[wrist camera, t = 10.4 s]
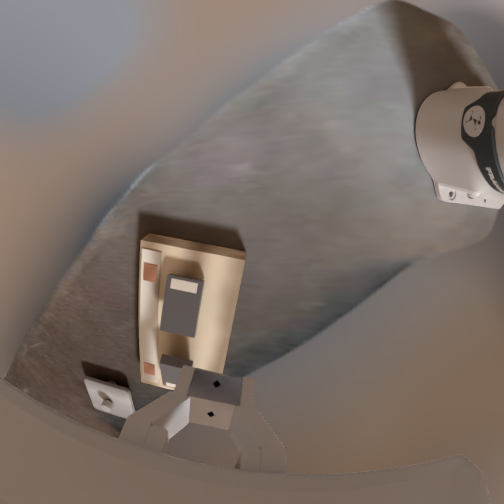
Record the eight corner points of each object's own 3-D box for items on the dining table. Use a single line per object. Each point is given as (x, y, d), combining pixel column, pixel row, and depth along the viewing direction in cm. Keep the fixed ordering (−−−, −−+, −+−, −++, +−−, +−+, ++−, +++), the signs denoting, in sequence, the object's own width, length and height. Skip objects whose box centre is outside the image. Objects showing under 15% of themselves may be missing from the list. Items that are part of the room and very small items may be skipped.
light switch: (98, 400, 49) (90, 416, 44) (88, 368, 46) (77, 385, 41) (139, 411, 49) (133, 429, 44) (132, 381, 46) (124, 399, 41)
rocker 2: (193, 360, 36) (191, 370, 35) (192, 382, 41) (190, 391, 39) (162, 353, 36) (159, 363, 35) (165, 376, 40) (162, 385, 39)
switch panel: (246, 251, 37) (244, 263, 33) (219, 386, 45) (216, 403, 41) (149, 233, 36) (137, 242, 32) (146, 370, 44) (139, 385, 41)
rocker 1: (205, 280, 35) (203, 282, 33) (196, 334, 35) (194, 338, 33) (170, 273, 34) (167, 274, 33) (162, 326, 34) (159, 330, 33)
